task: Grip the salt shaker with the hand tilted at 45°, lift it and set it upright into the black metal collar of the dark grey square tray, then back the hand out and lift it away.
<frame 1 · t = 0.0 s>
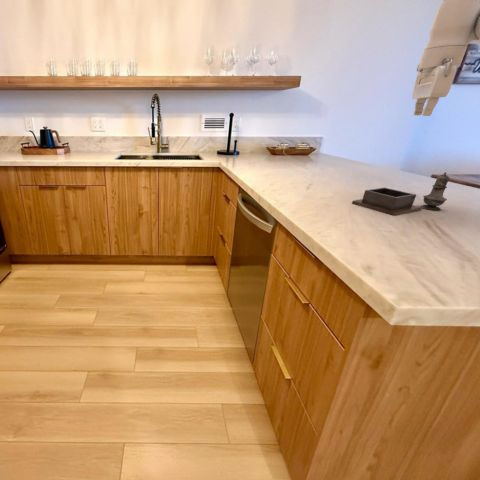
hand: (421, 115, 85), 28 cm above the counter, tool pointing down, fingers open, 8 cm apart
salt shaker: (430, 208, 96), on the counter
dark grey square tray: (385, 206, 97), on the counter
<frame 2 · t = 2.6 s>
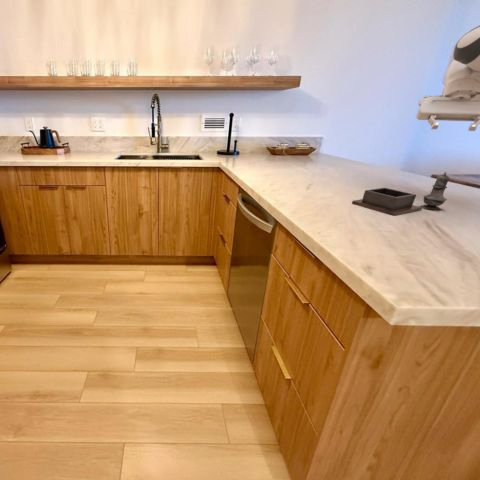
hand: (453, 128, 95), 24 cm above the counter, tool tilted 45°, fingers open, 8 cm apart
nothing on the counter moved.
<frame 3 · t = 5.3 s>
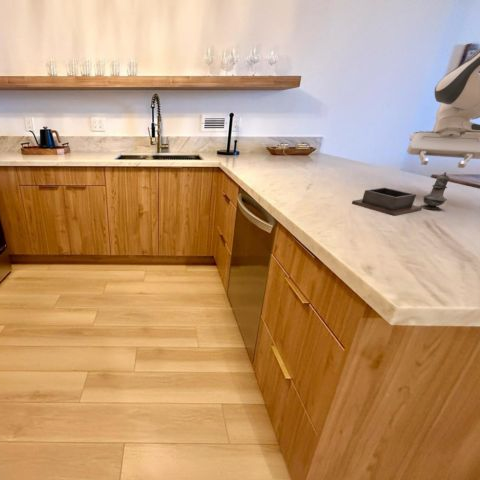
hand: (442, 165, 96), 13 cm above the counter, tool tilted 45°, fingers open, 8 cm apart
nothing on the counter moved.
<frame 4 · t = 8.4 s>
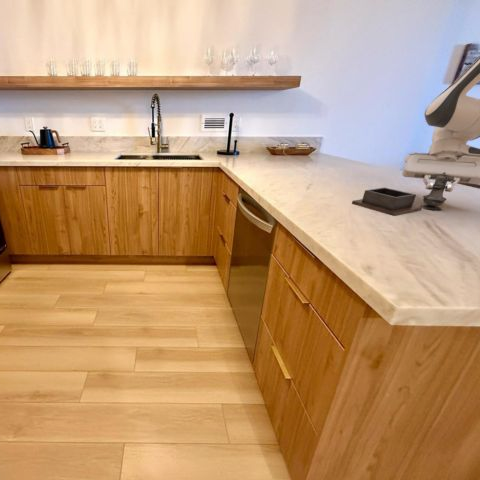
hand: (438, 189, 92), 7 cm above the counter, tool tilted 45°, fingers closed on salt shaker, 3 cm apart
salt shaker: (430, 208, 96), on the counter, touching gripper
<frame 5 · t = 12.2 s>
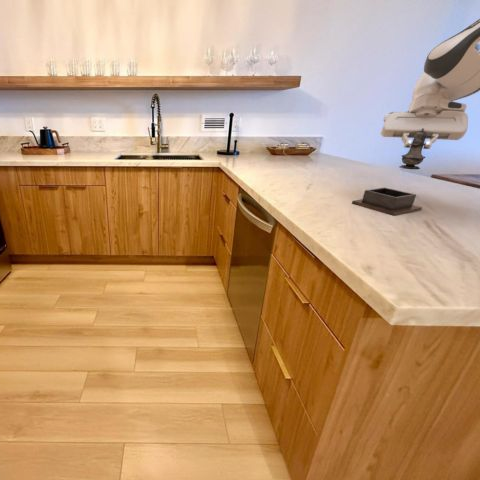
hand: (417, 147, 88), 20 cm above the counter, tool tilted 45°, fingers closed on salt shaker, 3 cm apart
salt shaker: (409, 168, 92), point 13 cm above the counter, touching gripper
when the fingers open (8 cm above the counter, at t = 16.1 s): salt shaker stays where it is, resting on dark grey square tray.
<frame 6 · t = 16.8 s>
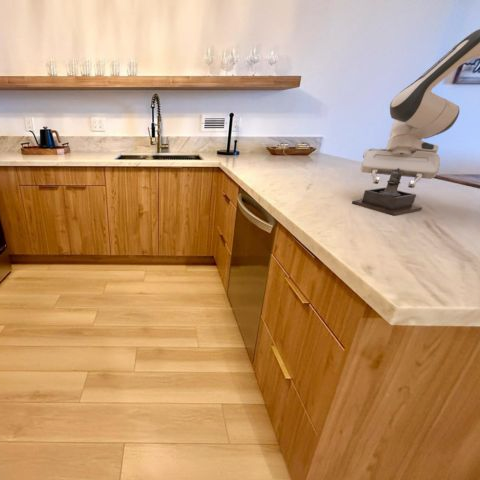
hand: (393, 184, 94), 8 cm above the counter, tool tilted 45°, fingers open, 8 cm apart
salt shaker: (386, 204, 97), point 1 cm above the counter, touching dark grey square tray
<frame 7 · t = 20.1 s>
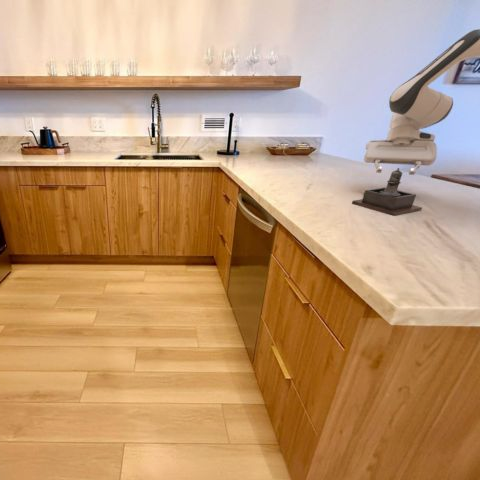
hand: (394, 172, 102), 10 cm above the counter, tool tilted 45°, fingers open, 8 cm apart
nothing on the counter moved.
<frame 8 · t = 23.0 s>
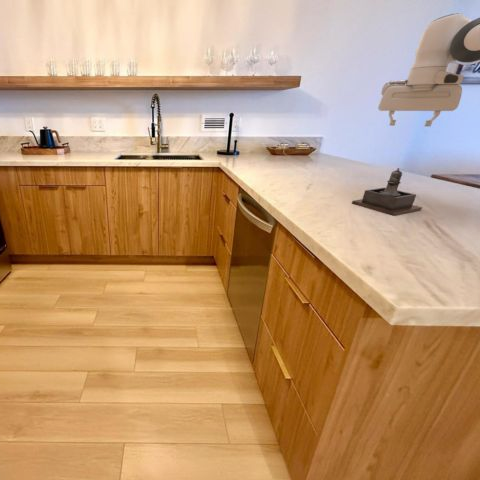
hand: (409, 125, 97), 25 cm above the counter, tool pointing down, fingers open, 8 cm apart
nothing on the counter moved.
at the end: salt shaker 0.5 cm off-centre on the dark grey square tray, point 0.8 cm above the dark grey square tray's base; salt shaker tilted 0°; the gripper is holding nothing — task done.
